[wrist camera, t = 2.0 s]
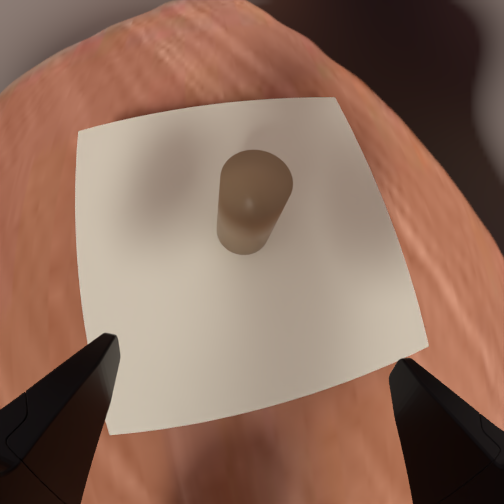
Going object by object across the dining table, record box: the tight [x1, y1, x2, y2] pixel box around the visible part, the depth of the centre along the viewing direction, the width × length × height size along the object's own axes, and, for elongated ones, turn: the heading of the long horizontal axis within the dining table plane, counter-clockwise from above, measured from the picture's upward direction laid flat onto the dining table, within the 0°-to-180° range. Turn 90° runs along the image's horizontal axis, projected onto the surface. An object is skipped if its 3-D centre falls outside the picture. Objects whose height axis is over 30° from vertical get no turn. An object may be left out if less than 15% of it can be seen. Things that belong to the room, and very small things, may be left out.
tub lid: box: [75, 97, 429, 435], centre depth 17 cm, size 21×21×8 cm
